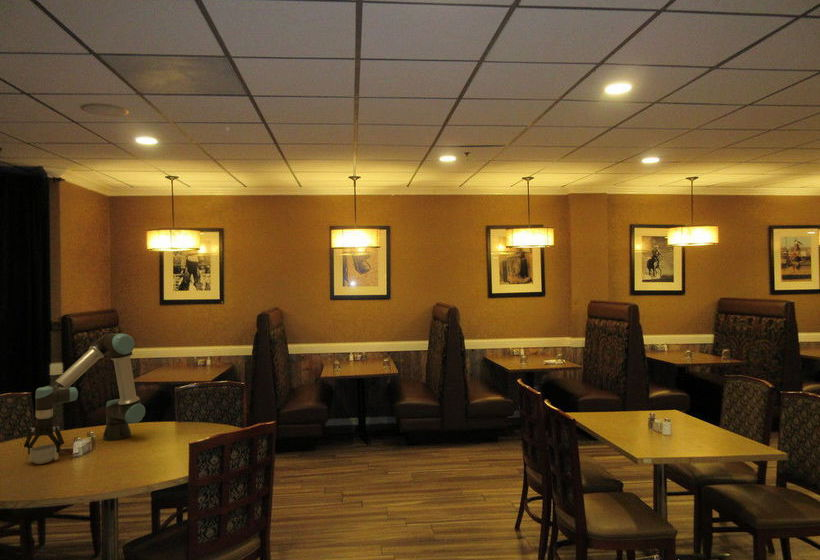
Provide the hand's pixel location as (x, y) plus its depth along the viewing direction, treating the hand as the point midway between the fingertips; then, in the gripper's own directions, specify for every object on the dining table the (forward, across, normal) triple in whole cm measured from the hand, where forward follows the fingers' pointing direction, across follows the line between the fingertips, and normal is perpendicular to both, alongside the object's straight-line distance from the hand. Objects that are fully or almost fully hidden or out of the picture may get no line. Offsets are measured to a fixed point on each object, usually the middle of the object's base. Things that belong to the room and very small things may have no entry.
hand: (44, 459), depth 280 cm
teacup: (+1, +1, 0) cm, 1 cm away
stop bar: (+1, 0, +13) cm, 13 cm away
